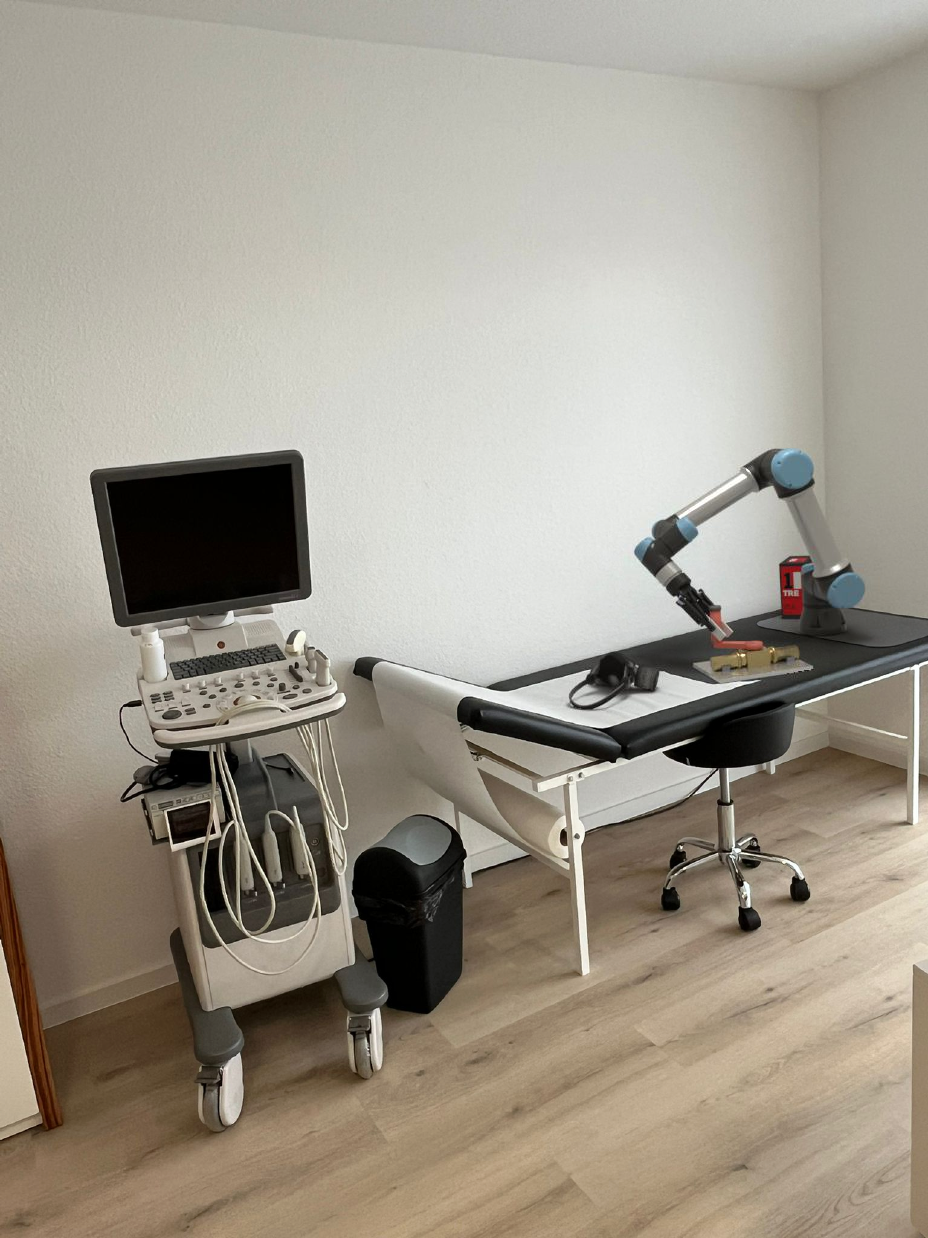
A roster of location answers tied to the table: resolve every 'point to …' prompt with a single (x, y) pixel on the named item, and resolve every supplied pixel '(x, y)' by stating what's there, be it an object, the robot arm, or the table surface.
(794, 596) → the cleaning product box
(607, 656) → the respirator mask
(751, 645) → the lever
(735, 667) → the valve
